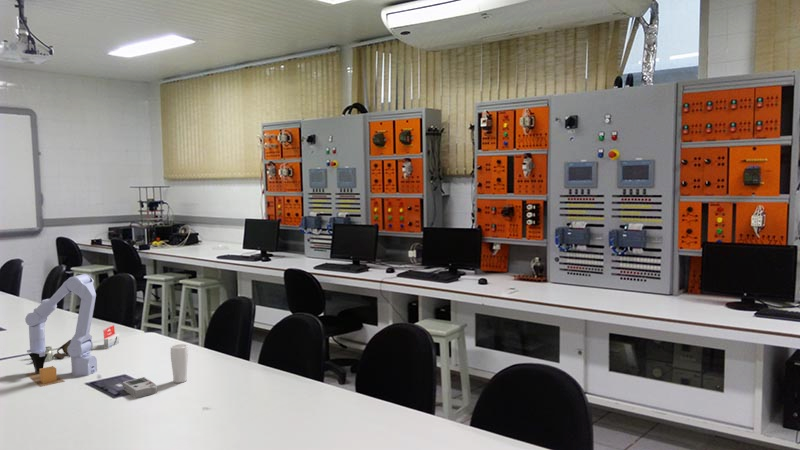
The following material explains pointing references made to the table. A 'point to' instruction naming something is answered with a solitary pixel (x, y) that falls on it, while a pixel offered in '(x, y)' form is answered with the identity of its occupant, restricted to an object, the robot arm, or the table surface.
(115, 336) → the ink cartridge box
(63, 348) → the brown rounded piece
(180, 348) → the drinking glass
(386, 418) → the table surface
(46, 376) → the cube
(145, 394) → the handheld gaming device
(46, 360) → the valve
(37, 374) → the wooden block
